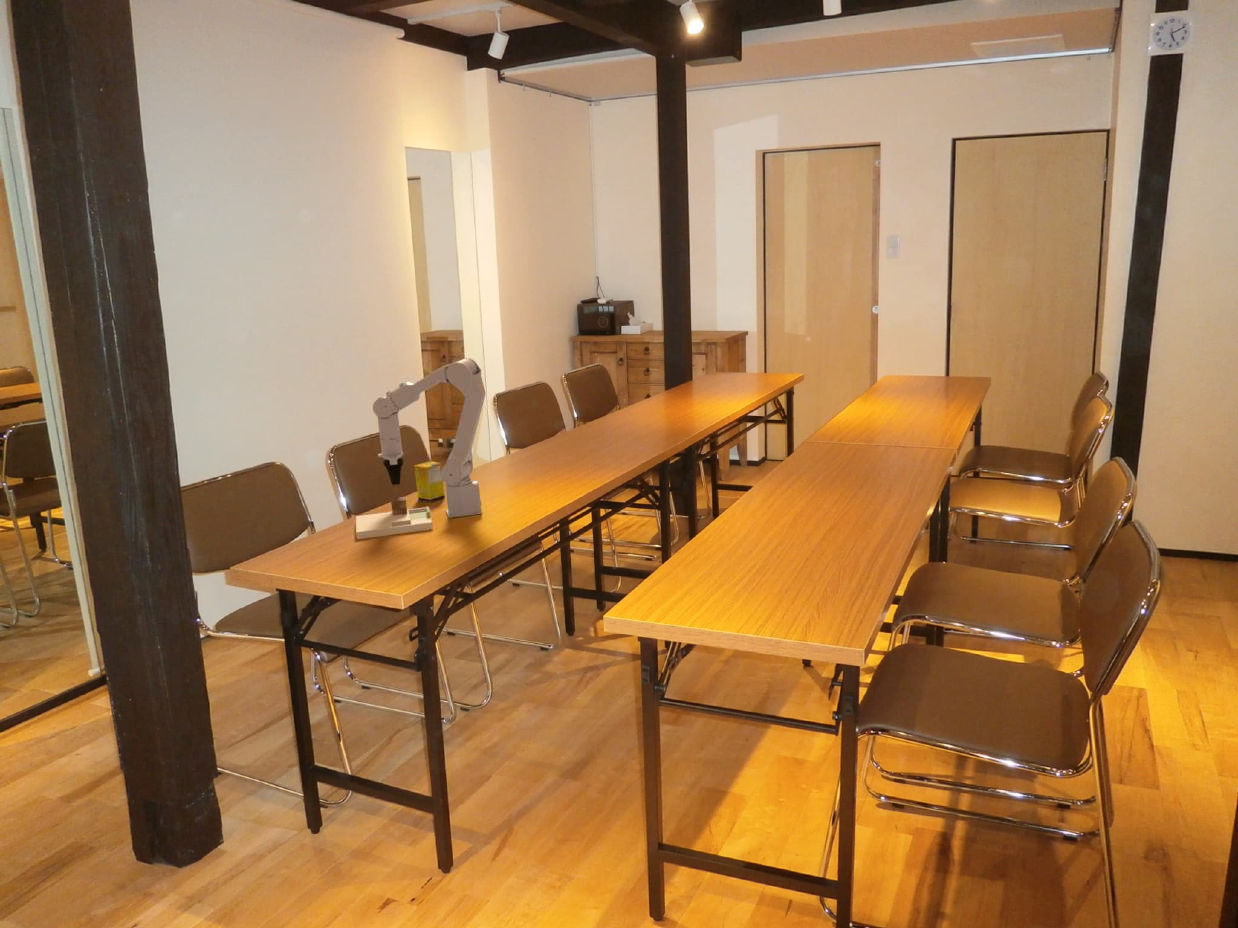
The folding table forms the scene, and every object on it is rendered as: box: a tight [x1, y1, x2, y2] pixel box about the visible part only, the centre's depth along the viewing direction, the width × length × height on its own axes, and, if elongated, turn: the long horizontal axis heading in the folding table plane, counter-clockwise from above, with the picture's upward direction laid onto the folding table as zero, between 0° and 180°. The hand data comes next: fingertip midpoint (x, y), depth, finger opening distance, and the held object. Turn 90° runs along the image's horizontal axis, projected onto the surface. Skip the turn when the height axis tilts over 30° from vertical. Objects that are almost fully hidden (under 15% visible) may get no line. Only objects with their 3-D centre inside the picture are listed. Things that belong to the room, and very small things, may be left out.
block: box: [390, 496, 408, 515], centre depth 274 cm, size 4×4×4 cm
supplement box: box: [413, 461, 446, 503], centre depth 295 cm, size 6×6×11 cm
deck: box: [355, 506, 434, 540], centre depth 269 cm, size 20×16×4 cm
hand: (396, 484), depth 280 cm, fingers closed
